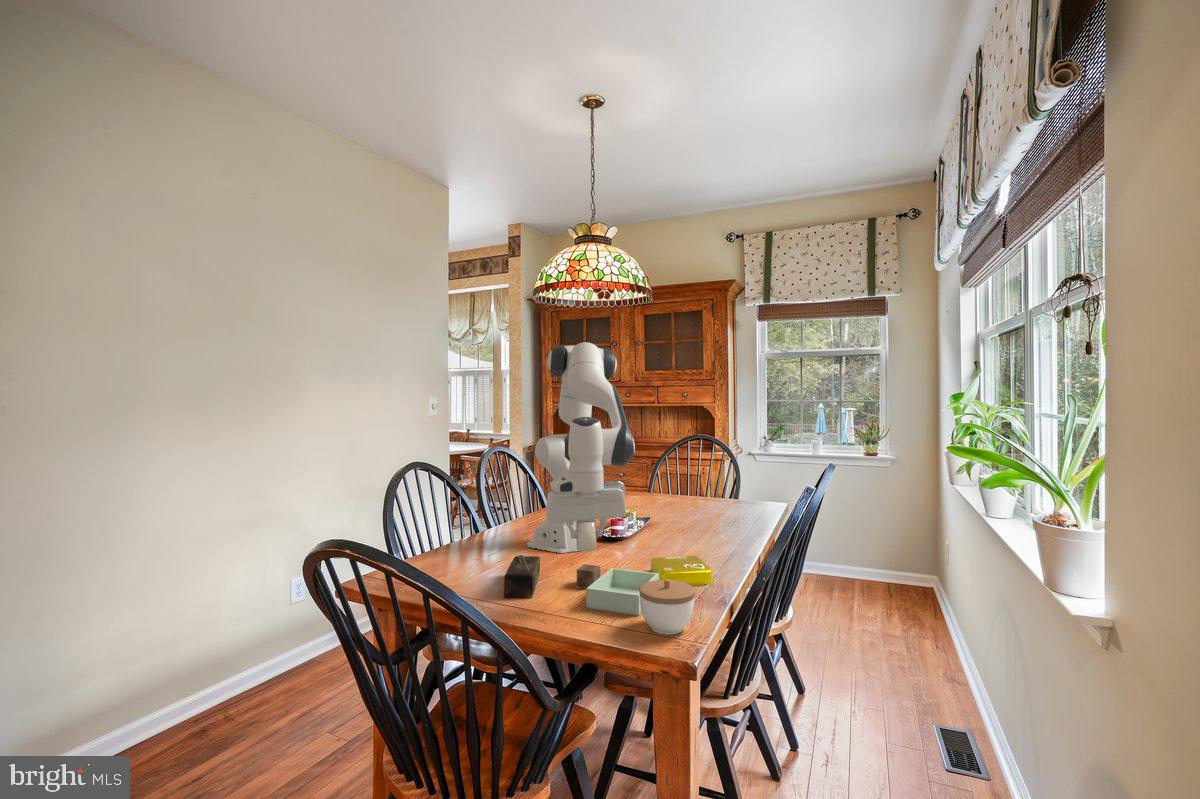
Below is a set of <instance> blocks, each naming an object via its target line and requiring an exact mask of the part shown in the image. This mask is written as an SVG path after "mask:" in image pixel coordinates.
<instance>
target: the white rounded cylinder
mask: <svg viewBox="0 0 1200 799" xmlns="http://www.w3.org/2000/svg"><path fill="white" fill-rule="evenodd" d="M596 528H597V519H592V520H578V521H576V531H578V535H577V536H578V538H576V549H577V550H579V551H578V552H592V551H596V550H597V537H596Z"/></svg>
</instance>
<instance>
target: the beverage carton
mask: <svg viewBox="0 0 1200 799" xmlns="http://www.w3.org/2000/svg"><path fill="white" fill-rule="evenodd" d="M540 560H541V558H540V556H536V555H535V556H531V555H529V556H527V555H526V556H525V555H523V554H519V555H516V556H514V558H512V561H511V563H510V565H509V566H508V568H507V570H506V572H505V575H504V577H503V578H504V580H503V581H504V583H503V585H504V586H503V598H504V599H505V598H509V599H510V598H511V599H513V598H514V599H532V598H533V597H534V593H535V591H536V587H537V584H538V581H539V576H540V572H541V563H540V562H541V561H540ZM512 597H513V598H512Z"/></svg>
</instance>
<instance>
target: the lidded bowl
mask: <svg viewBox="0 0 1200 799" xmlns="http://www.w3.org/2000/svg"><path fill="white" fill-rule="evenodd" d="M695 590H696V589H695V588H694V587H693V586H691V585H689V584H687V583H684V582H680V581H675V580H668V579H666V580H655V581H650V582H646V583H644V584H642V585H641V586H640V588H639V593H640V605H641V611H642V613H641V615H642V617H643V620H645V623H646V624H647V625H648V626H649V627H651V628H650V629H651V630H652V631H653V632H654V633H655V634H656V633H657V634H660V635H667V636H671V635H677V634H679V633H681V632H683V630H684V629H685V628H686V627H687V626H688V625H689V623H690V621H691V619H692V617H693V614H694V610H695V609H694V608H695V596H696V591H695Z"/></svg>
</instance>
